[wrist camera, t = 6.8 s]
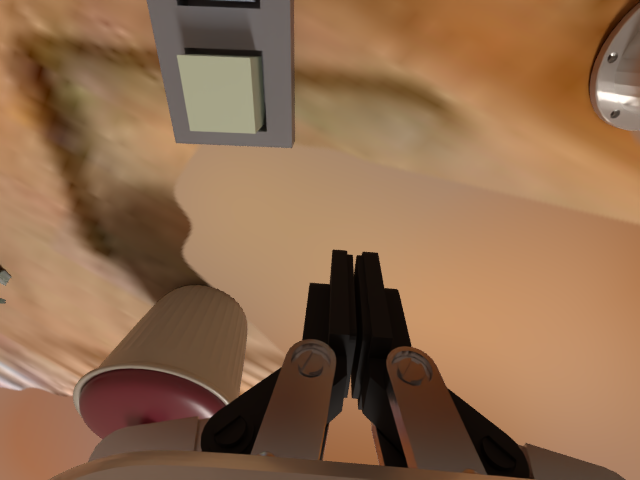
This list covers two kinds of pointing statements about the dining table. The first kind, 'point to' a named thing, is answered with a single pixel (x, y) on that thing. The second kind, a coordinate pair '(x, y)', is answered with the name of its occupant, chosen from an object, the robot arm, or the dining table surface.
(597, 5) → the dining table surface
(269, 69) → the console
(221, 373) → the canister
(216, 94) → the button sage
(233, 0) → the button blue
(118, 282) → the dining table surface
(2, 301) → the rose bouquet
